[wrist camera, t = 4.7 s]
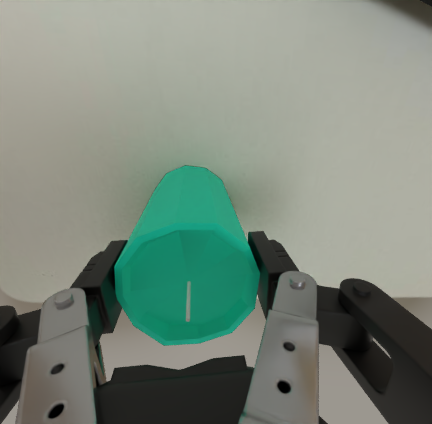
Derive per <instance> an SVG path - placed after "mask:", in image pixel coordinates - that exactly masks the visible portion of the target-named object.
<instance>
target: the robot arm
mask: <svg viewBox="0 0 432 424" xmlns="http://www.w3.org/2000/svg"><path fill="white" fill-rule="evenodd" d="M127 242H128V240H120V241H111V242H110V244H109V245H108V247H107V248H106V250H105V251H102V252H99V253H98V254H96V255H95V256H94V257H92V258H91V260H90V261H89V262H88V264H87V266H85V268H84V269H83V272H81V273H80V275H79V276H78V277H77V279H76V280H75V282H74V283H73V284H72V286H71V287H70V288H69V289H65V290H62V291H59V292H57V293H55V294H54V295H52V296H50V297H49V298H48V299H47V300H46V301H45V302H44V303H43V305H42V308H41V309H39V310H36V311H32V312H29V313H25V314H22V315H17V313H16V310H15V308H14V307H12V306H0V424H1V423H2V422H3V420H4V419H5V418H6V416H7V415H8V414H9V412H10V411H11V410H12V408H13V407H14V406H15V404H16V403H17V401H18V400H19V404H18V411H17V416H16V423H15V424H328V423H326V422H325V421H324V420H323V419H322V418H321V417H320V416H319V409H318V408H319V403H318V402H319V400H318V399H319V344H324V345H329V346H331V347H332V348H333V350H334V351H335V352H336V354H337V355H338V356H339V358H340V359H341V360H342V362H343V363H344V364H345V366H346V367H347V368H348V370H349V371H350V373H351V374H352V375H353V376H354V378H355V379H356V380H357V382H358V383H359V384H360V386H361V387H362V389H363V390H364V391H365V393H366V394H367V395H368V397H369V398H370V399H371V401H372V402H373V403H374V405H375V406H376V407H377V409H378V410H379V411H380V413H381V414H382V415H383V417H384V418H385V419H386V421H387V422H388V423H389V424H432V329H431V328H429V327H428V326H427V325H425V324H424V323H423V322H422V321H420V320H419V319H418V318H416V317H415V316H414V315H413V314H411V313H410V312H409V311H408V310H406V309H405V308H404V307H402V306H401V305H400V304H399V303H397V302H396V301H395V300H393V299H392V298H391V297H390V296H388V295H387V294H386V293H385V292H383V291H382V290H381V289H379V288H378V287H377V286H375V285H374V284H372V283H370V282H367V281H365V280H361V279H354V278H350V279H345V280H343V281H342V282H341V284H340V288H339V289H338V288H331V287H324V286H319V285H317V283H316V281H315V280H314V279H313V278H312V277H311V276H310V275H308V274H306V273H303V272H300V271H299V270H298V268H297V267H296V265H295V264H294V262H293V261H292V259H291V258H290V257H289V255H288V253H287V252H286V250H285V249H284V247H283V246H282V244H280V243H279V242H277V241H275V240H268V238H267V236H266V235H265V233H264V231H257V232H249V233H248V244H249V247H250V249H251V251H252V254H253V257H254V259H255V262H256V264H257V267H258V269H259V272H260V278H259V284H258V290H257V295H258V298H259V301H260V304H261V307H262V309H263V312H264V315H265V318H266V324H265V328H264V332H263V336H262V340H261V344H260V348H259V352H258V356H257V360H256V364H255V368H253V367H247V365H246V361H245V356H244V355H243V356H232V357H222V358H213V359H210V360H207V361H204V362H202V363H199V364H196V365H194V366H190V367H187V368H185V369H181V370H176V369H170V368H164V367H157V366H151V365H140V366H130V367H120V368H114V371H113V375H112V378H111V380H110V381H108V382H107V381H106V375H105V369H104V363H103V357H102V350H101V345H100V342H99V340H100V337H101V335H102V334H106V333H113V331H114V328H115V325H116V323H117V320H118V317H119V315H120V312H121V309H122V306H121V305H120V303H119V302H118V300H117V297H116V293H115V271H114V266H115V265H116V263H117V261H118V259H119V257H120V255H121V253H122V251H123V249H124V247H125V246H126V244H127ZM373 337H374V338H375V339H376V341H378V343H379V344H380V345H381V346H382V347H383V348H384V349H385V350H386V351H387V352H388V354H389V355H390V357H391V359H390V358H389V357H388V356H387V355H386V354H385V352H384V351H383V350H382V349H381V348H380V347H379V346H378V345H377V344H376V343H375V342H374V341H373Z"/></svg>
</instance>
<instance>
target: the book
mask: <svg viewBox="0 0 432 424" xmlns="http://www.w3.org/2000/svg"><path fill="white" fill-rule="evenodd" d="M420 1H422V2H424V3H426V4H428V5H430V6H432V0H420Z"/></svg>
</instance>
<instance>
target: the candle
mask: <svg viewBox="0 0 432 424" xmlns="http://www.w3.org/2000/svg"><path fill="white" fill-rule="evenodd" d="M114 271H115V293H116V297H117V300H118V302H119V303H120V305H121V306H122V308H123V309H124V311H125V313H126V314H127V316H128V317H129V319H130V321H131V322H132V324H133V326H135V327H136V328H138V329H139V330H141V331H142V332H144V333H145V334H147V335H148V336H150V337H152V338H153V339H155V340H156V341H158V342H159V343H161V344H162V345H164V346H165V345H182V344H198V343H202V342H205V341H208V340H211V339H214V338H217V337H221V336H224V335H227V334H230V333H232V332H233V331H234V330H235V329H236V328H237V327H238V326H239V325H240V324H241V323H242V322H243V320H244V319H245V318H246V317H247V316H248V315H249V314H250V313H251V312H252V311H253V310H254V309H255V303H256V297H257V290H258V284H259V278H260V272H259V269H258V267H257V264H256V262H255V259H254V257H253V254H252V251H251V249H250V247H249V244H248V242H247V239H246V237H245V235H244V232H243V230H242V227H241V225H240V223H239V220H238V218H237V215H236V213H235V211H234V208H233V206H232V204H231V201H230V199H229V196H228V194H227V192H226V189H225V187H224V184H223V182H222V180H221V179H220V178H218V177H217V176H216V175H214V174H213V173H212V172H210V171H209V170H208V169H206V168H202V167H194V166H186V165H185V166H183V167H180V168H178V169H176V170H173V171H171V172H169V173H166V175H165V176H164V178H163V179H162V180H161V182H160V183H159V185H158V186H157V187H156V189H155V191H154V192H153V194H152V196H151V198H150V200H149V202H148V204H147V206H146V208H145V209H144V211H143V213H142V215H141V217H140V219H139V221H138V223H137V225H136V227H135V228H134V230H133V232H132V234H131V236H130V238H129V240H128V242H127V244H126V246H125V247H124V249H123V251H122V253H121V255H120V257H119V259H118V261H117V263H116V265H115V266H114Z"/></svg>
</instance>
